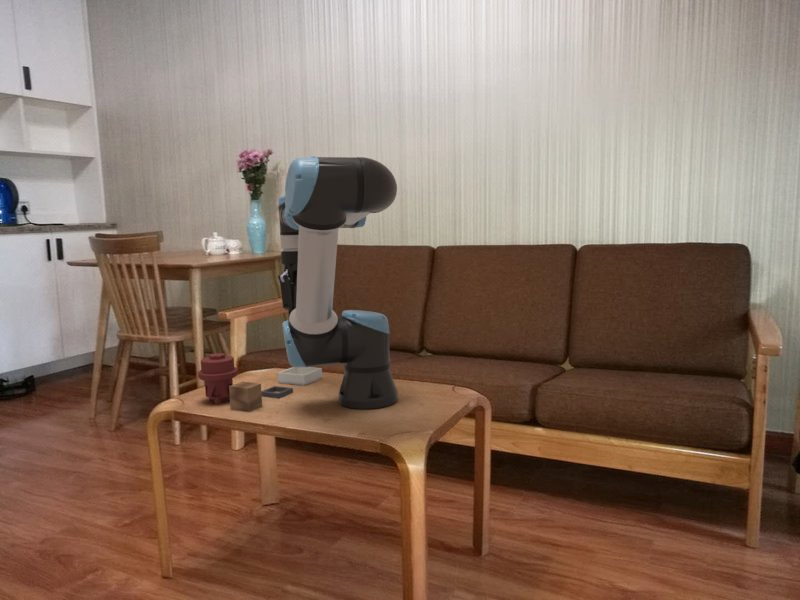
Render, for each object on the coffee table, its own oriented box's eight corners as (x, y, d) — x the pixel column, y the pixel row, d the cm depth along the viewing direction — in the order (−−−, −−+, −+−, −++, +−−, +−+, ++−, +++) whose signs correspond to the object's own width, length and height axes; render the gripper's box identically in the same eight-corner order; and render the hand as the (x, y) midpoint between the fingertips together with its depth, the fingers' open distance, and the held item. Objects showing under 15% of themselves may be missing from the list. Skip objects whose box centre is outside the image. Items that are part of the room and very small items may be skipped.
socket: (293, 392, 171) (292, 388, 171) (279, 398, 165) (278, 393, 165) (274, 390, 174) (274, 385, 174) (260, 395, 168) (260, 391, 168)
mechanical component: (220, 408, 158) (191, 403, 163) (247, 397, 167) (219, 393, 172) (217, 360, 157) (188, 357, 161) (244, 352, 165) (216, 349, 170)
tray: (322, 378, 186) (321, 368, 185) (304, 385, 177) (303, 375, 177) (296, 375, 190) (296, 365, 189) (278, 382, 182) (277, 372, 181)
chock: (262, 406, 159) (260, 383, 158) (249, 412, 154) (247, 388, 153) (243, 404, 161) (242, 381, 161) (230, 409, 157) (229, 386, 156)
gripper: (299, 248, 187) (302, 325, 190) (266, 251, 173) (270, 335, 176) (320, 248, 184) (323, 327, 187) (288, 251, 170) (292, 336, 173)
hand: (297, 330), depth 182 cm, fingers closed on pin, 2 cm apart
